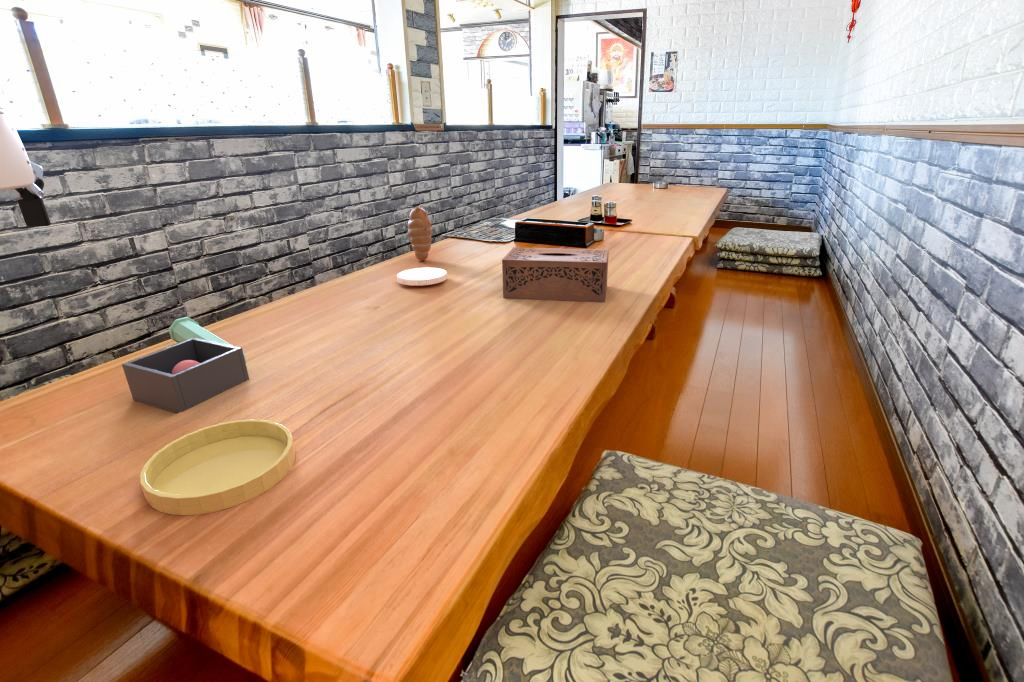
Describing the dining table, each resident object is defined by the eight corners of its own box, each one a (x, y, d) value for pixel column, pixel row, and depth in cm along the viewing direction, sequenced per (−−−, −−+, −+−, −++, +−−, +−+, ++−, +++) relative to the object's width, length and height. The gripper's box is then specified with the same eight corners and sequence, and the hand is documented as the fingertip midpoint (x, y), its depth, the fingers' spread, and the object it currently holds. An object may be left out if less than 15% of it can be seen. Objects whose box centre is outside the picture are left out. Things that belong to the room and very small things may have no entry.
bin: (182, 415, 83) (171, 377, 80) (133, 400, 88) (121, 364, 85) (250, 382, 93) (242, 347, 91) (202, 370, 98) (193, 337, 96)
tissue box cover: (503, 297, 136) (502, 259, 132) (514, 282, 149) (513, 247, 145) (604, 302, 131) (606, 262, 127) (606, 285, 144) (608, 249, 140)
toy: (188, 397, 87) (181, 370, 85) (168, 391, 89) (161, 364, 87) (215, 384, 91) (209, 358, 90) (196, 378, 93) (189, 353, 91)
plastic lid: (406, 291, 143) (405, 282, 142) (391, 280, 154) (391, 271, 153) (454, 284, 149) (454, 275, 148) (437, 273, 160) (436, 265, 159)
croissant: (430, 264, 171) (426, 207, 165) (407, 263, 172) (401, 207, 165) (437, 257, 180) (433, 203, 173) (414, 257, 180) (409, 203, 174)
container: (240, 340, 96) (188, 311, 111) (211, 361, 93) (161, 328, 108) (258, 364, 100) (205, 332, 115) (231, 385, 97) (180, 349, 112)
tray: (210, 536, 58) (203, 514, 57) (115, 495, 65) (108, 475, 64) (324, 453, 72) (320, 434, 71) (236, 427, 79) (232, 409, 78)
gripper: (-11, 104, 77) (31, 222, 84) (-135, 98, 61) (-71, 245, 68) (43, 103, 78) (81, 221, 84) (-66, 97, 62) (-9, 243, 68)
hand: (13, 231), depth 76 cm, fingers open, 9 cm apart
